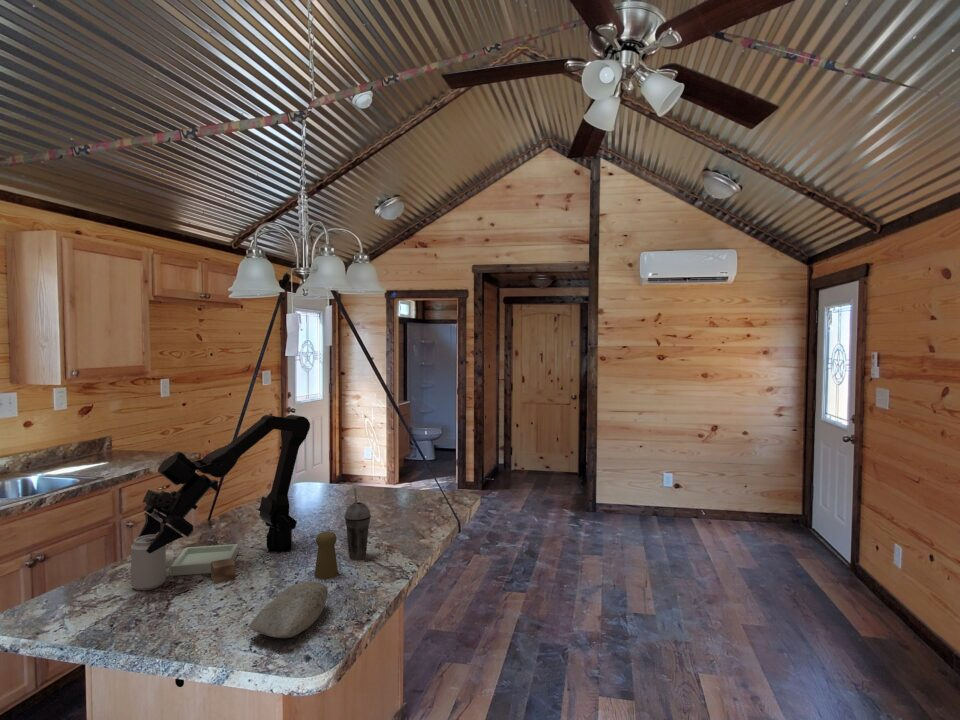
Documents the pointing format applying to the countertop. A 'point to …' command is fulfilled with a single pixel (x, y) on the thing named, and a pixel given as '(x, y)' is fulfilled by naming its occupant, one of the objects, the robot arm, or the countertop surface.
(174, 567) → the tray
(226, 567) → the walnut block
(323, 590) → the rock
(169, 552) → the off-white egg
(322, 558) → the cork
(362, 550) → the beverage cup
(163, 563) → the can
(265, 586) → the countertop surface
